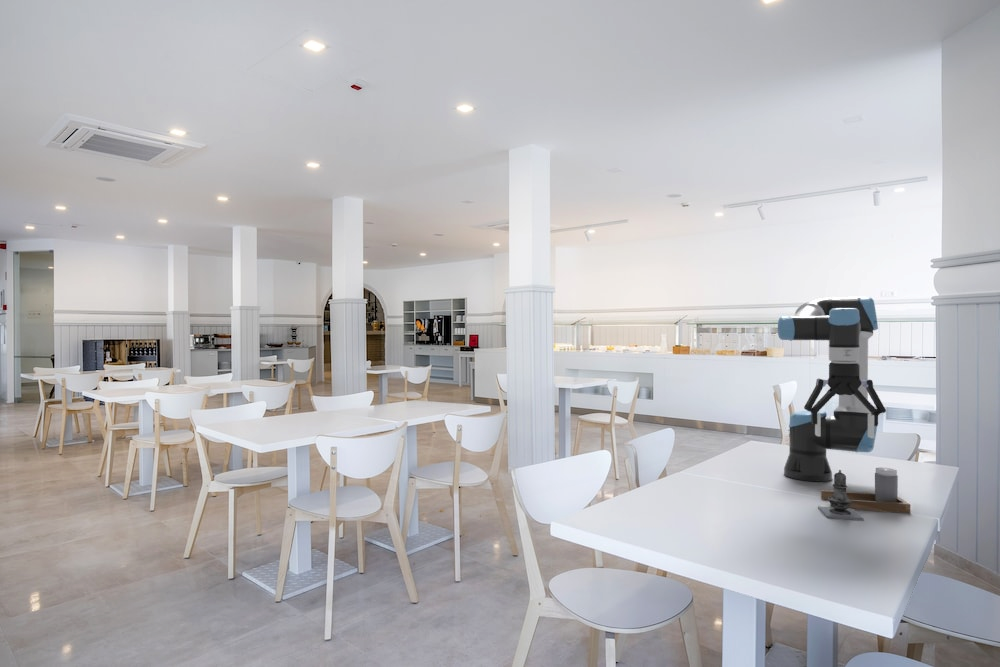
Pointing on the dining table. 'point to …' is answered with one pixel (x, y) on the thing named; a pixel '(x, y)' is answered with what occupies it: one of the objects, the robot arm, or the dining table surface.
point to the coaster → (828, 514)
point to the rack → (870, 502)
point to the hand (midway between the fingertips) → (844, 436)
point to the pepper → (886, 485)
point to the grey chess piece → (840, 495)
